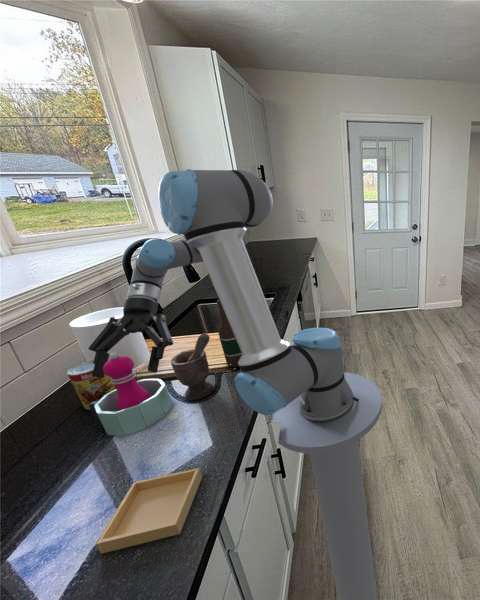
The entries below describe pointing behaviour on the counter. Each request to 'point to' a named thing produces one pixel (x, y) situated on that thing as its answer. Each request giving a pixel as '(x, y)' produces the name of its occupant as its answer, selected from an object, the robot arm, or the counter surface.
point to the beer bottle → (228, 340)
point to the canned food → (89, 383)
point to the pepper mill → (125, 381)
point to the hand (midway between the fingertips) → (125, 374)
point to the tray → (151, 510)
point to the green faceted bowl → (133, 409)
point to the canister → (94, 324)
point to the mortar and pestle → (193, 369)
